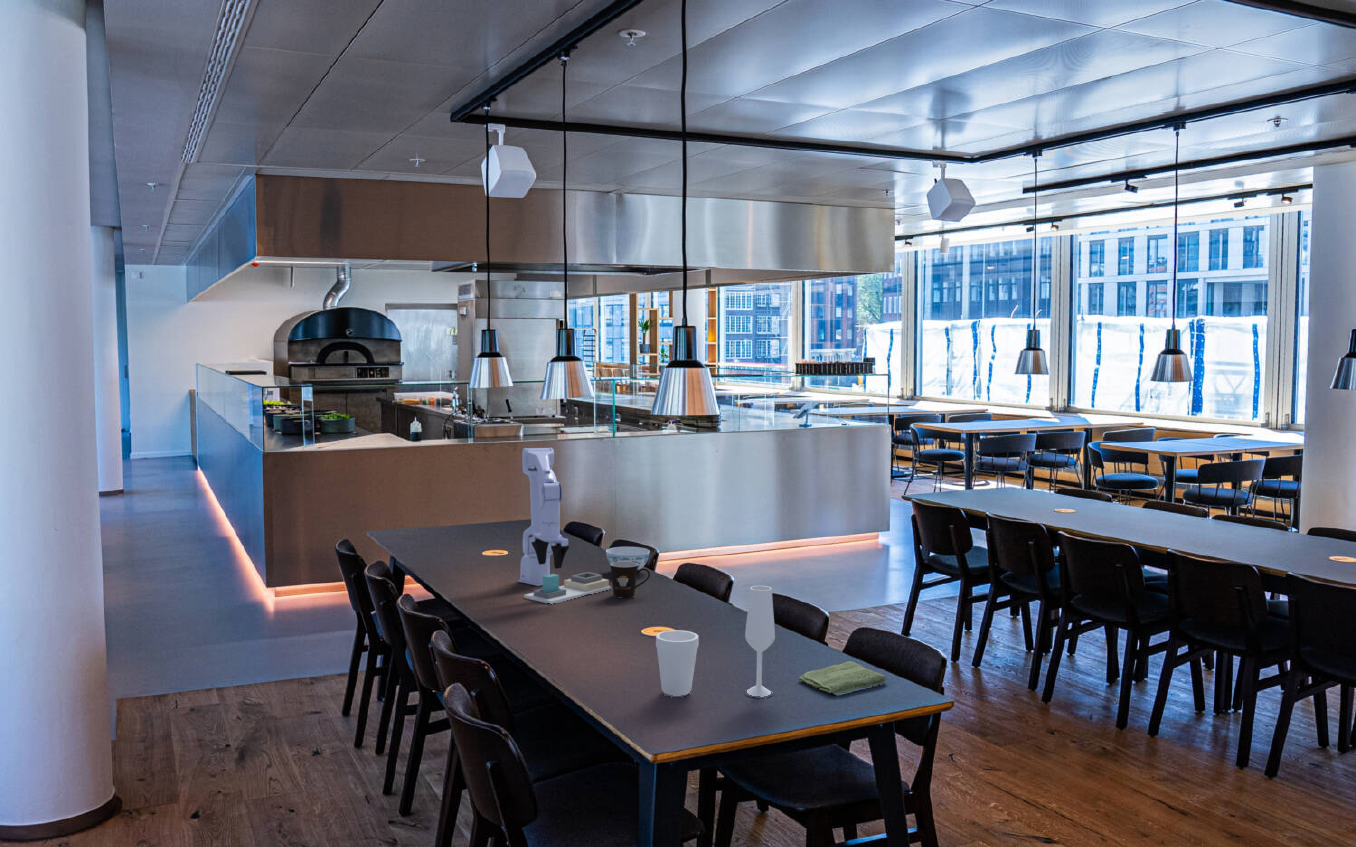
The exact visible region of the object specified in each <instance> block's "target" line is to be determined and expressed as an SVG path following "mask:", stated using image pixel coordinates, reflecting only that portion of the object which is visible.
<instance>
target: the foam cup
mask: <svg viewBox="0 0 1356 847" xmlns="http://www.w3.org/2000/svg"><path fill="white" fill-rule="evenodd" d="M699 642H700V641H699V635H698V634H697V633H696V632H693V631H689V630H681V629H678V630H677V629H676V630H663V631H661V632H657V634H656V635H655V647H656V651H657V660H658V667H659V677H660V685H661V692H662V691H663V692H664V693H666V694H669V695H673V696H681V695H686V694H688V693H690V691H692V688H693V679H694V672H695V668H696V667H695V666H696V660H697V655H698V654H697V652H698V648H699ZM690 694H691V693H690Z"/></svg>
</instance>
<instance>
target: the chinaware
mask: <svg viewBox="0 0 1356 847" xmlns="http://www.w3.org/2000/svg"><path fill="white" fill-rule="evenodd" d="M650 553H651V551H650V550H649V549H648V548H645V547H640V546H615V547H611V548H607V549H606V550H605V555H606V558H607V561H608V563H609V564H611V563H613V562H620V561H628V562H635V563H638V570H639V569H642V568H643V567H644V566H645V565H646V564H647V562H648V560H649V556H650Z"/></svg>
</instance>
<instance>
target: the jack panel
mask: <svg viewBox="0 0 1356 847" xmlns="http://www.w3.org/2000/svg"><path fill="white" fill-rule="evenodd" d="M563 583H564V584H563V585H561V586H560V585H559V591H555V592H550V593H546V592H543V588H539V589H534V590H533V592H531V593H530V592H529V593H527V594H524V599H527V600H530V601H531V600H532V601H536V602H541V603H542V604H543V603H544V604H547V603H550V604H549V605H551V604H552V605H554V604H553V603H556V604H559V603H564V602H568V601H571V600H570V599H572V600H575V599H574V598H576V599H579V598H578V597H580V598H582V597H581V596H584V595H587V594H592V595H595V594H594V593H596V594H598V593H599V592H600V593H603V592H602V591H604V592H607V591H606V590H608V591H610V590H609V589H611V590H612V586H610V585H609V584H610V580H609V579H608V578H607V579H606V578H603V575H602V574H599V573H594V572H589V571H587V572H582V573H578V574H573V575H570V578H568V579H564V580H563ZM584 597H585V596H584ZM567 600H568V601H567Z"/></svg>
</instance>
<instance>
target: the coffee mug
mask: <svg viewBox="0 0 1356 847" xmlns="http://www.w3.org/2000/svg"><path fill="white" fill-rule="evenodd" d="M609 564H610V563H609ZM610 571H611V572H610V573H611V574H610V576H611V583H612V593H613V594H612V595H613V597H614V596H616V597H622V598H621V599H630V598H629V597H632V598H634V597H635V592H636V589H637V588H638V587H639V586H642V585H643V584H645V583H646V582H647V581H648V580H649V579H650V576H651V573H650V571H649V570H648V569H647V568H643V567H642V568H641V569H639V570H638V563H635V562H628V561H620V562H613V563H611V564H610ZM642 571H645V572H646V573H647V574H648V576H647V578H646V579H644V580H643V581H641V582H640V583H638V584H637V576H638V575H639V574H640V572H642ZM633 596H634V597H633ZM616 597H615V598H616Z"/></svg>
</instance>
